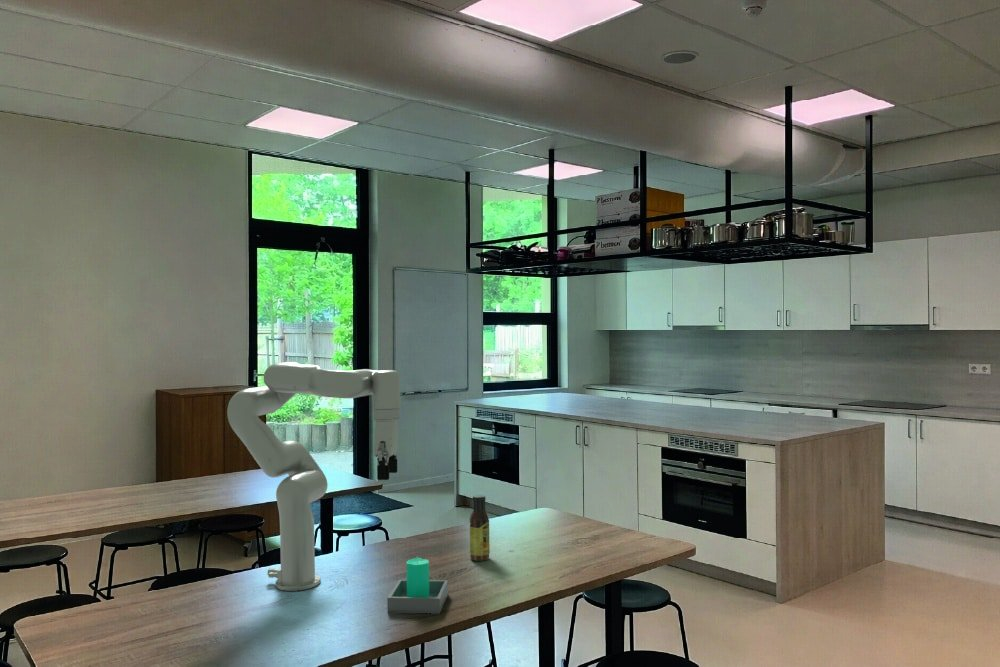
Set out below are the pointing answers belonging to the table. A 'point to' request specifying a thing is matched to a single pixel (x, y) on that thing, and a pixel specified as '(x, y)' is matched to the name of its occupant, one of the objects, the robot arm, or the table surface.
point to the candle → (417, 577)
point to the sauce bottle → (479, 530)
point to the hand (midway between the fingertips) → (387, 476)
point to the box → (418, 598)
